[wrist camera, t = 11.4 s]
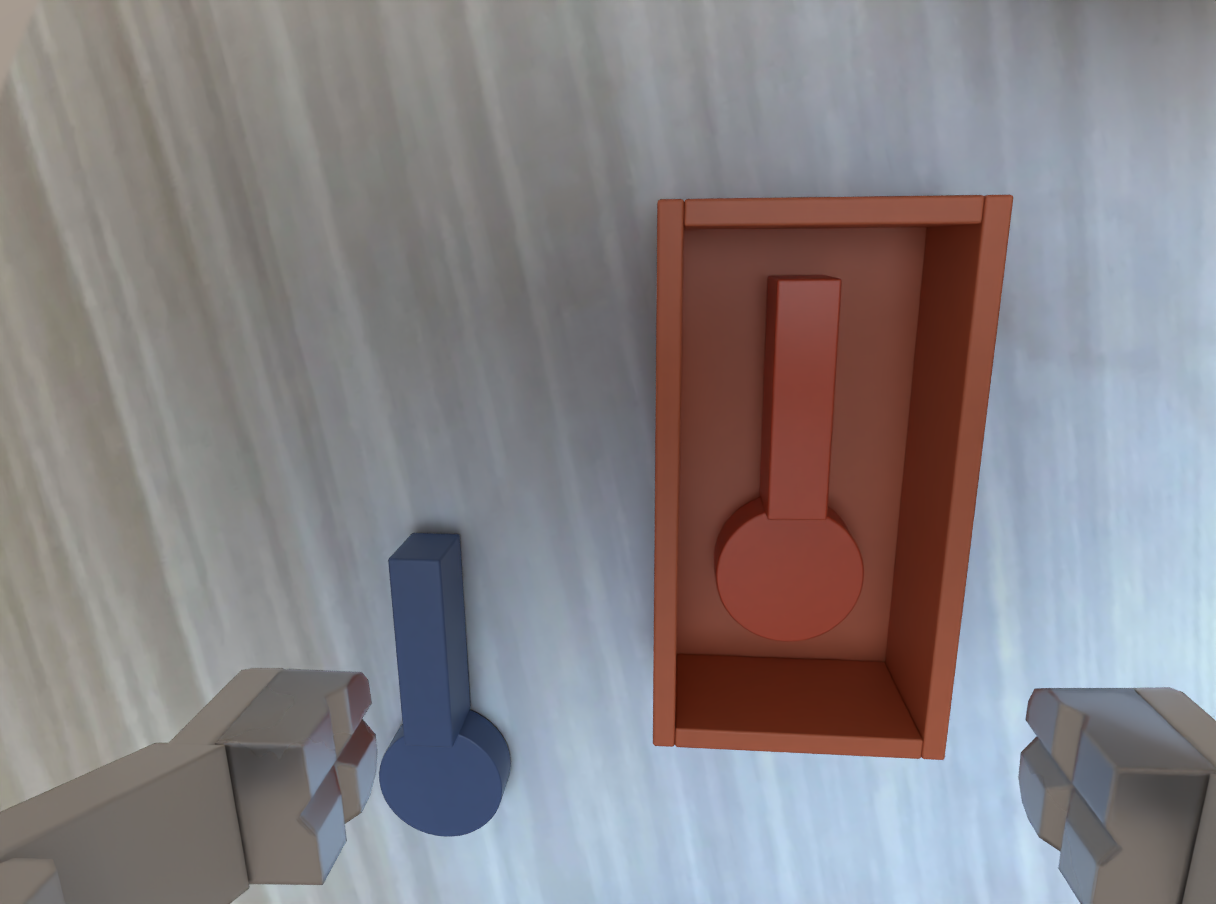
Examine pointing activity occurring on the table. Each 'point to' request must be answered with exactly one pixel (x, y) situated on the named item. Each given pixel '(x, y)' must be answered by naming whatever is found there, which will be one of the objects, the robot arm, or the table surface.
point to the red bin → (859, 469)
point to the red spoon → (793, 480)
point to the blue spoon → (438, 700)
